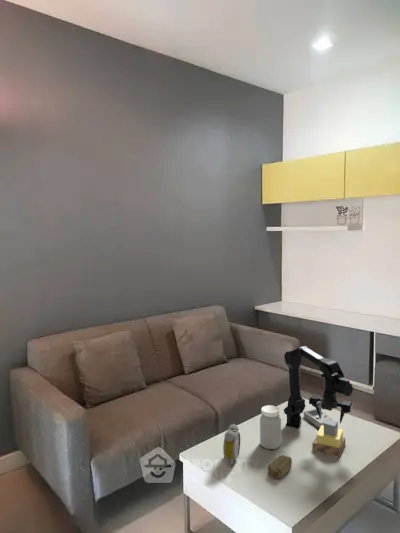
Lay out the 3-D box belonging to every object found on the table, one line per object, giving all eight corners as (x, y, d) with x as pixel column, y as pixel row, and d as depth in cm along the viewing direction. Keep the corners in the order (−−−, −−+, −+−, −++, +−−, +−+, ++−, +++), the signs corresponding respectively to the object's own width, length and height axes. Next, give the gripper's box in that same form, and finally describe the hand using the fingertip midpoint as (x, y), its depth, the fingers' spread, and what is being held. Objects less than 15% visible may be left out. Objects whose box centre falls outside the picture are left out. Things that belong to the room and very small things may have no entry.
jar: (284, 443, 194) (284, 407, 192) (275, 453, 186) (275, 415, 184) (266, 437, 200) (265, 402, 198) (256, 446, 192) (256, 410, 190)
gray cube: (323, 433, 188) (323, 423, 187) (327, 428, 192) (327, 418, 191) (334, 436, 185) (334, 426, 184) (337, 431, 189) (337, 421, 188)
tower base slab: (312, 451, 188) (312, 443, 187) (319, 439, 198) (319, 431, 197) (338, 458, 181) (338, 450, 181) (345, 445, 191) (345, 437, 191)
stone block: (292, 468, 175) (292, 457, 174) (279, 481, 166) (279, 470, 166) (280, 463, 178) (280, 452, 178) (267, 476, 170) (266, 464, 169)
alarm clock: (235, 468, 175) (234, 435, 174) (219, 465, 177) (219, 433, 176) (240, 453, 186) (240, 422, 185) (226, 451, 188) (226, 420, 187)
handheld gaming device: (320, 430, 206) (320, 423, 206) (303, 417, 220) (303, 410, 219) (334, 426, 209) (334, 419, 209) (316, 414, 223) (316, 407, 222)
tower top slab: (316, 443, 187) (316, 434, 187) (321, 432, 196) (321, 425, 196) (339, 448, 183) (339, 439, 182) (342, 437, 191) (342, 429, 191)
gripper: (305, 390, 185) (305, 423, 187) (347, 399, 175) (347, 433, 177) (312, 382, 195) (312, 413, 196) (353, 389, 185) (352, 422, 186)
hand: (330, 420), depth 189 cm, fingers open, 9 cm apart
